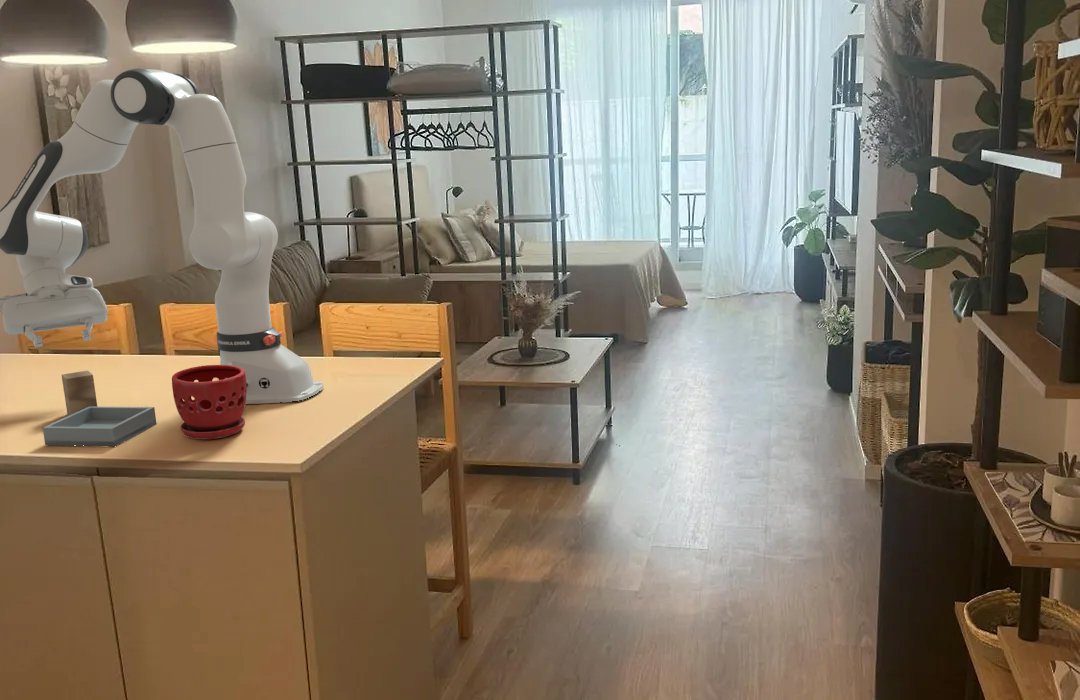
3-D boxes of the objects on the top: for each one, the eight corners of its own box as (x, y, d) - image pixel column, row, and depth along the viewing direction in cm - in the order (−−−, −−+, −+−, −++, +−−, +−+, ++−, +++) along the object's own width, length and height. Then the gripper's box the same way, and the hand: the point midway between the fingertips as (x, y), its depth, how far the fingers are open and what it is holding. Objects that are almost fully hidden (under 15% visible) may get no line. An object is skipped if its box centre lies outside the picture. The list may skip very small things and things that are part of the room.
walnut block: (93, 409, 198) (87, 370, 196) (98, 414, 194) (92, 374, 192) (67, 414, 195) (61, 374, 193) (72, 419, 191) (66, 379, 189)
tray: (156, 424, 185) (154, 407, 185) (114, 447, 172) (112, 428, 171) (91, 423, 187) (89, 406, 187) (45, 445, 174) (42, 427, 173)
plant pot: (164, 443, 173) (156, 380, 170) (201, 422, 186) (195, 363, 183) (230, 445, 171) (223, 381, 168) (263, 423, 183) (257, 364, 181)
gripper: (-6, 288, 197) (8, 340, 192) (99, 277, 209) (115, 326, 203) (-6, 306, 202) (8, 358, 196) (97, 294, 213) (113, 343, 208)
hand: (63, 341), depth 200 cm, fingers open, 8 cm apart
